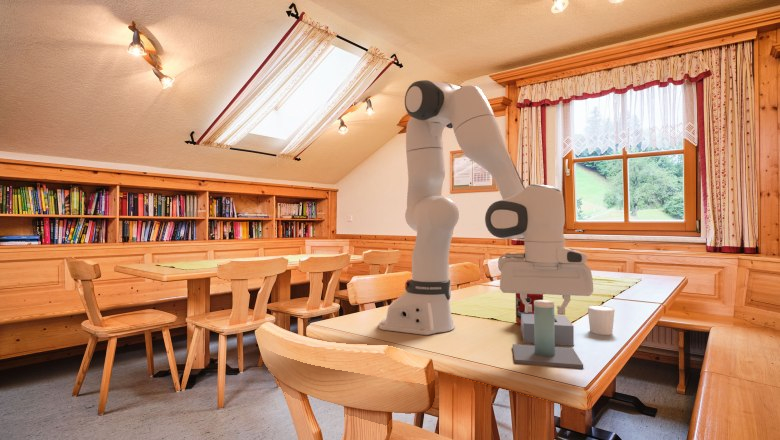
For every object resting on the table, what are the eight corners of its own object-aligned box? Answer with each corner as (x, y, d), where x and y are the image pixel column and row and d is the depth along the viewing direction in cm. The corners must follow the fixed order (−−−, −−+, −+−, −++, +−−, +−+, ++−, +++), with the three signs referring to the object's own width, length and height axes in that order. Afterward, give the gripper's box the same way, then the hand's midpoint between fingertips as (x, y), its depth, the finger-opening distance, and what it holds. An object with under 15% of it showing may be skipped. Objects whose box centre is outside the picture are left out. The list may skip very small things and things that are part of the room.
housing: (523, 342, 107) (523, 323, 107) (521, 330, 118) (520, 313, 118) (573, 345, 104) (573, 326, 104) (565, 333, 115) (565, 315, 115)
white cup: (583, 329, 120) (583, 305, 120) (607, 329, 120) (607, 305, 120) (594, 335, 113) (594, 310, 113) (619, 335, 113) (619, 310, 113)
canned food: (511, 321, 129) (511, 286, 130) (536, 320, 130) (535, 286, 130) (522, 327, 122) (522, 290, 122) (547, 326, 123) (547, 290, 123)
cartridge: (535, 355, 93) (534, 303, 94) (533, 349, 98) (533, 299, 98) (556, 357, 92) (555, 303, 92) (553, 351, 97) (552, 300, 97)
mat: (514, 363, 91) (514, 359, 91) (512, 347, 102) (512, 344, 102) (583, 368, 87) (583, 364, 87) (573, 351, 99) (572, 348, 99)
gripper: (498, 254, 95) (498, 313, 95) (594, 255, 90) (595, 318, 89) (498, 252, 101) (498, 308, 101) (588, 253, 96) (588, 312, 96)
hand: (544, 313), depth 95 cm, fingers open, 6 cm apart
